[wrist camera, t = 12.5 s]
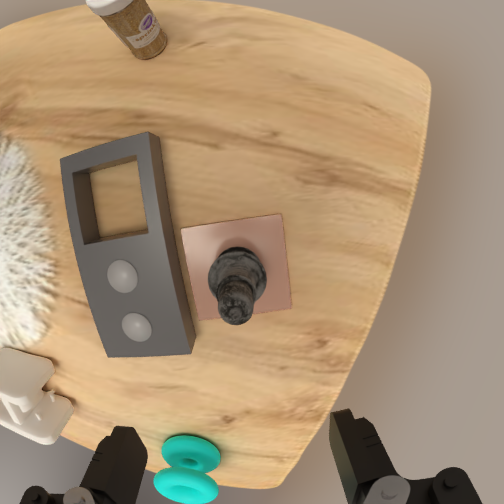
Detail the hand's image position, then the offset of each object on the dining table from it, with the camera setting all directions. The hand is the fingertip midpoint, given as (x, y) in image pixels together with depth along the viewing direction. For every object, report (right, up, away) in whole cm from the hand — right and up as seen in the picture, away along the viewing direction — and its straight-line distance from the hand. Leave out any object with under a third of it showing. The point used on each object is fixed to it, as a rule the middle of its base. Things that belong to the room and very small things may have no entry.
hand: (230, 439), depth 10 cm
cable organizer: (-36, -14, +27) cm, 47 cm away
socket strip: (-13, +8, +22) cm, 27 cm away
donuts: (-9, -26, +31) cm, 41 cm away
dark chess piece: (-1, +5, +23) cm, 23 cm away
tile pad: (-1, +5, +23) cm, 24 cm away
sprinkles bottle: (-11, +32, +17) cm, 38 cm away
